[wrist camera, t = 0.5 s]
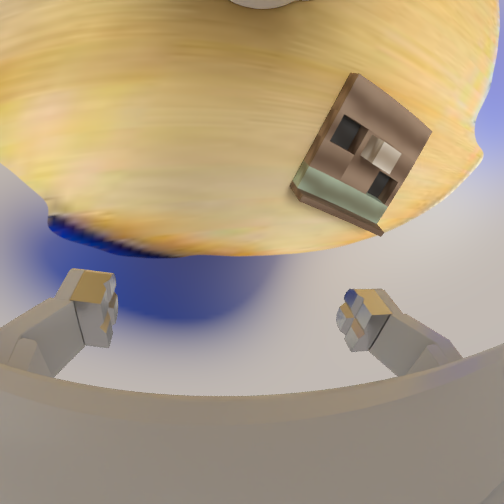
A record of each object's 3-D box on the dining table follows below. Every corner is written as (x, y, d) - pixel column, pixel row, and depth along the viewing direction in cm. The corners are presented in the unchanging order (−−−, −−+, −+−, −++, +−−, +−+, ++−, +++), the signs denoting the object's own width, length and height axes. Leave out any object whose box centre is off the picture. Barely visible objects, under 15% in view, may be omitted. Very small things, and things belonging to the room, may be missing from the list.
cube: (371, 134, 40) (384, 141, 37) (388, 146, 41) (401, 153, 38) (360, 155, 42) (372, 163, 39) (377, 165, 43) (389, 174, 40)
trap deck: (350, 72, 37) (368, 75, 32) (422, 127, 43) (442, 136, 38) (289, 185, 47) (299, 201, 42) (367, 220, 53) (381, 236, 49)
